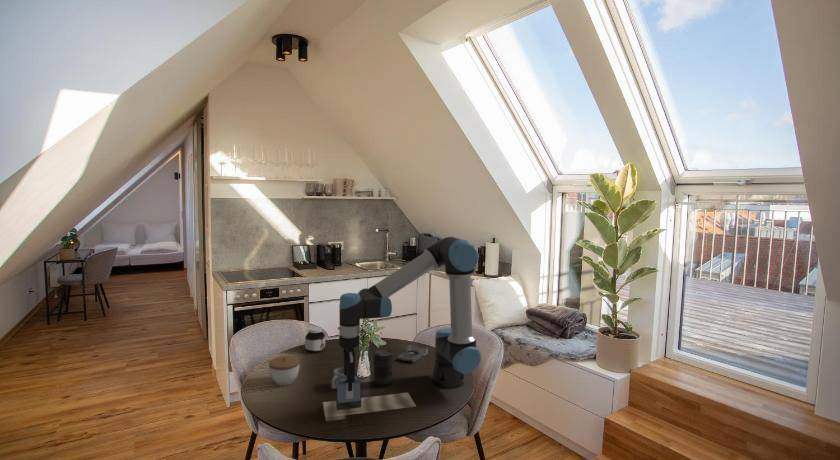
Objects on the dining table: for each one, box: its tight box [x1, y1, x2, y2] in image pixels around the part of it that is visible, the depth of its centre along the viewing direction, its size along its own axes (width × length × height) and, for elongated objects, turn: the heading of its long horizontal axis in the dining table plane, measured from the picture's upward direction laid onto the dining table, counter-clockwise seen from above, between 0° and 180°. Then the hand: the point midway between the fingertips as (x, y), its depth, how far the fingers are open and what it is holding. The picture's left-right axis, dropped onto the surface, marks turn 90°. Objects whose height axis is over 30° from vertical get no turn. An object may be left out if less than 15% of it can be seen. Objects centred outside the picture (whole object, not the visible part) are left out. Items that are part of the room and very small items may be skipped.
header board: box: [322, 392, 417, 422], centre depth 173 cm, size 34×12×9 cm, turn 107°
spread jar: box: [304, 325, 326, 354], centre depth 234 cm, size 12×11×12 cm
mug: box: [330, 367, 345, 390], centre depth 191 cm, size 10×7×7 cm, turn 154°
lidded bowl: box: [268, 355, 301, 386], centre depth 194 cm, size 13×13×11 cm
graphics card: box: [397, 345, 429, 363], centre depth 227 cm, size 17×4×12 cm
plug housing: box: [336, 375, 361, 403], centre depth 170 cm, size 8×4×8 cm, turn 107°
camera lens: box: [373, 349, 394, 388], centre depth 192 cm, size 8×8×15 cm
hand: (348, 395), depth 171 cm, fingers closed on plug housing, 4 cm apart
